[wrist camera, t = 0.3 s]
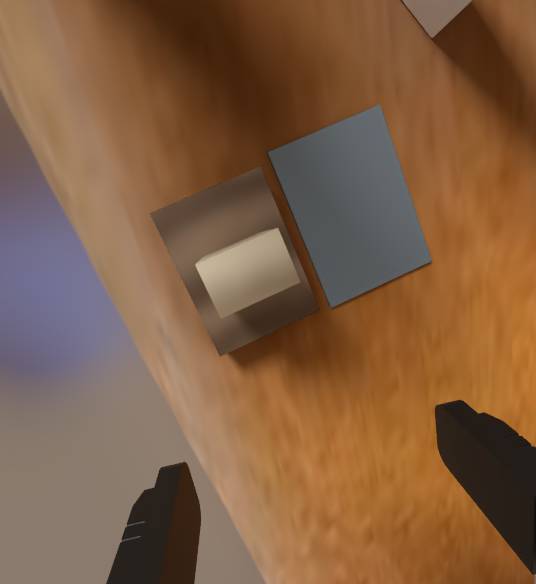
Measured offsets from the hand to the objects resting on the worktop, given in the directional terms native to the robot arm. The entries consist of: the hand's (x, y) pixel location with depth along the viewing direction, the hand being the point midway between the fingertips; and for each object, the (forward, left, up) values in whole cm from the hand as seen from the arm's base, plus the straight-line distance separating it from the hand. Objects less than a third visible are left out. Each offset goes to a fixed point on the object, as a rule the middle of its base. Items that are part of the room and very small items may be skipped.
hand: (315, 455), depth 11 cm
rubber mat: (-5, +15, -27) cm, 31 cm away
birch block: (-5, +1, -23) cm, 24 cm away
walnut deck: (-5, +1, -27) cm, 28 cm away
